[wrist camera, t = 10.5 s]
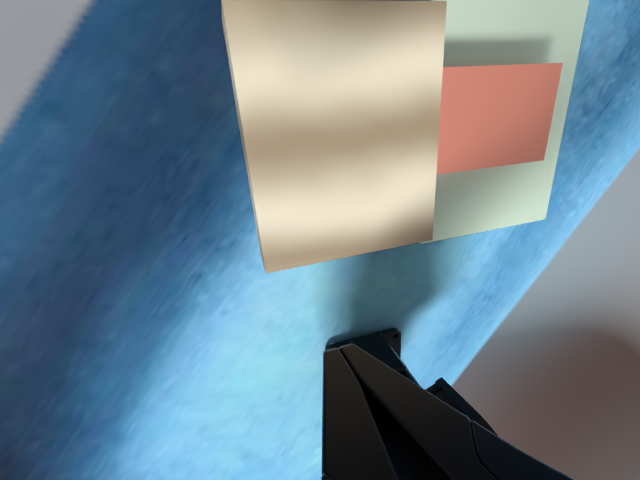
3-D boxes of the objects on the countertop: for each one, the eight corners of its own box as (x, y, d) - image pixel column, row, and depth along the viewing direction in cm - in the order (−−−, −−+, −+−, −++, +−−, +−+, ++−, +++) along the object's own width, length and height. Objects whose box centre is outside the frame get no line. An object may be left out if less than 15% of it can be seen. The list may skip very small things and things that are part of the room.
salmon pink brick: (534, 67, 21) (562, 62, 19) (519, 157, 23) (543, 160, 22) (418, 72, 19) (438, 67, 17) (414, 170, 21) (431, 175, 20)
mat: (542, 218, 27) (545, 219, 26) (419, 242, 24) (421, 244, 24) (586, -10, 21) (591, -12, 20) (430, -12, 18) (433, -14, 18)
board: (408, 226, 23) (432, 240, 20) (260, 253, 21) (265, 273, 18) (414, 19, 18) (447, 0, 16) (221, 21, 16) (221, -1, 13)
